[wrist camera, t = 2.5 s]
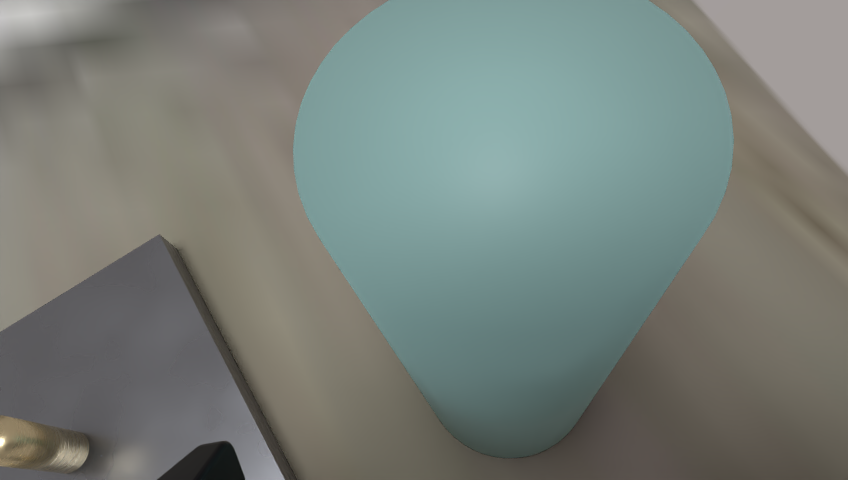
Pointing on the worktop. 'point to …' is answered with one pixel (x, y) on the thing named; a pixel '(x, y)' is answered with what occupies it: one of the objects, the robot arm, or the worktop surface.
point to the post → (512, 194)
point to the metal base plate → (126, 380)
